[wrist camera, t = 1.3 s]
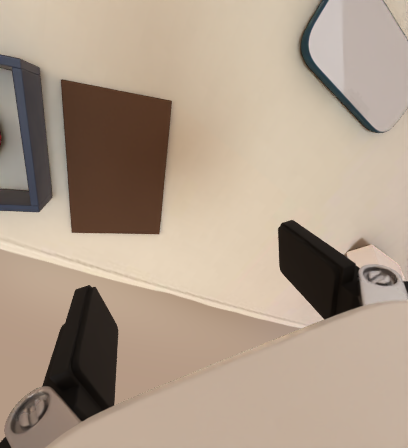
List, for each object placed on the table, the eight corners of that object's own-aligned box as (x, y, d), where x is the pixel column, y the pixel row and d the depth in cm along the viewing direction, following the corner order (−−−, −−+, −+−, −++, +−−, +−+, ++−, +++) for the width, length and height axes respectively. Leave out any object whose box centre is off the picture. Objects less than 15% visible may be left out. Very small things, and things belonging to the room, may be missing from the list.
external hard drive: (419, 78, 41) (432, 77, 39) (373, 139, 43) (383, 140, 42) (342, -39, 30) (355, -48, 29) (289, 51, 33) (298, 48, 31)
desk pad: (62, 79, 28) (60, 79, 27) (171, 101, 32) (171, 101, 31) (72, 230, 36) (71, 232, 35) (158, 232, 40) (159, 234, 39)
